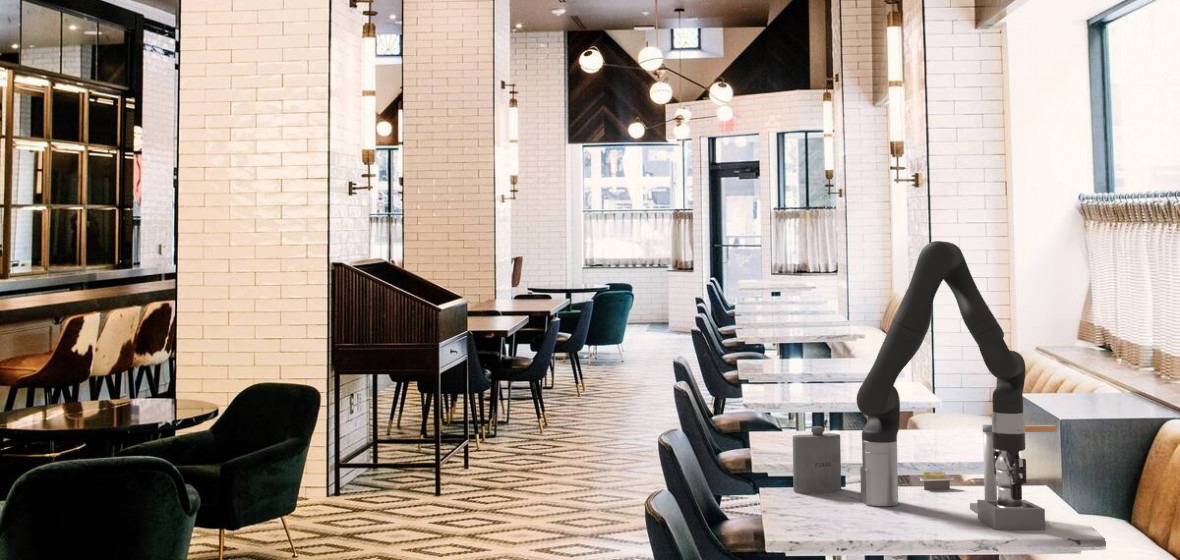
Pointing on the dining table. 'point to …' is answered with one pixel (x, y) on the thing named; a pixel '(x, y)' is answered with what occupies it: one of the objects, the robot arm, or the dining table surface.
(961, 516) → the dining table surface
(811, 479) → the flask
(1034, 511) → the plug dock
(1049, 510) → the dining table surface
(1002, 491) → the plastic bottle
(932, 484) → the platform
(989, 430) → the slender peach stick
